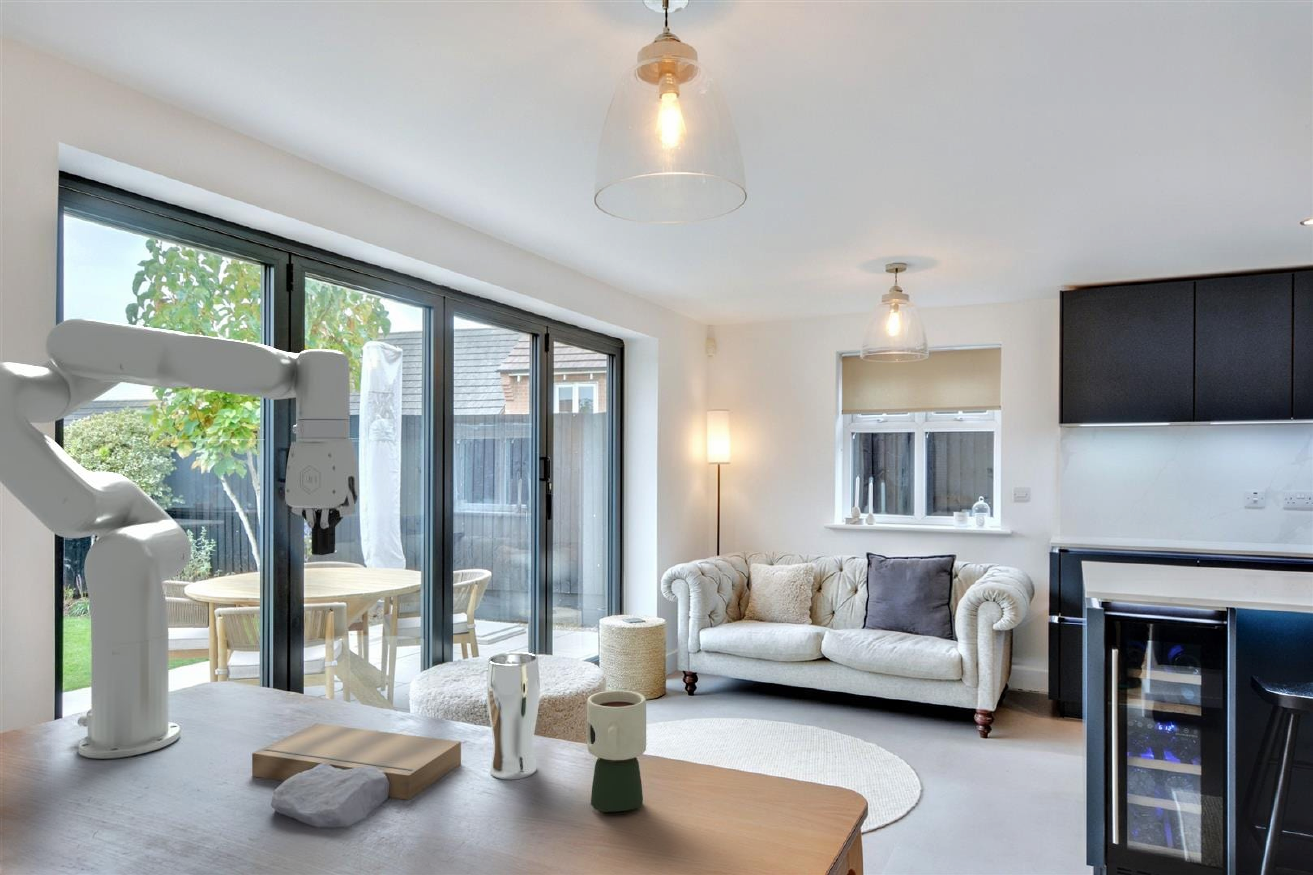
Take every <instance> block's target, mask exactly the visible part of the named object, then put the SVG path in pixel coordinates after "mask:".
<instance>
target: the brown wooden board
mask: <svg viewBox="0 0 1313 875" xmlns="http://www.w3.org/2000/svg"><path fill="white" fill-rule="evenodd" d="M251 757H252V759H251V764H252V765H251V772H252V773H251V776H252V777H255V778H256V777H257V778H263V779H267V780H268V779H270V780H275V781H281V782H284V781H285V780H287V779H289V778H290V777H292V776H294V775H296V774H298V773H302V772H303V771H306V770H310V769H313V768H314V767H316V766H317V765H319V764H322V763H328V764H329V765H331V766H332V767H334V768H340V769H342V770H348V769H353V768H355V767H376V768H377V769H378V770H382V771H384V773H385V775H386V777H387V780H388V782H389V794H388V798H393V799H394V798H395V799H399V800H400V799H401V800H407V801H409V800H411V799H412V798H414V797H415V796H417V795H419V794H420V793H421V792H422V791H424V790H426V789H427V788H428V787H430V786H431V785H432V784H434V783H436V782H437V781H438V780H440V779H441V778H442V777H444V776H445V775H447V774H448V773H450V772H451V771H452V770H454V769H455V768H457V767H459V766H460V765H461V764H462V741H460V740H459V741H457V740H453V739H452V740H451V739H444V738H443V739H442V738H437V737H436V738H435V737H427V736H421V735H420V736H419V735H410V734H404V733H403V734H402V733H394V732H387V731H379V730H371V729H363V728H355V727H349V726H348V727H346V726H338V725H331V724H325V723H324V724H323V723H314V724H312V725H310V726H308V727H306V728H304V729H301V730H300V731H298V732H294V733H293V734H291V735H288V736H287V737H283V738H282V739H280V740H278V741H276V742H273V743H271V744H269V745H267V746H265V747H262V748H259V749H258V750H256V751H254V752H252V753H251Z"/></svg>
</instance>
